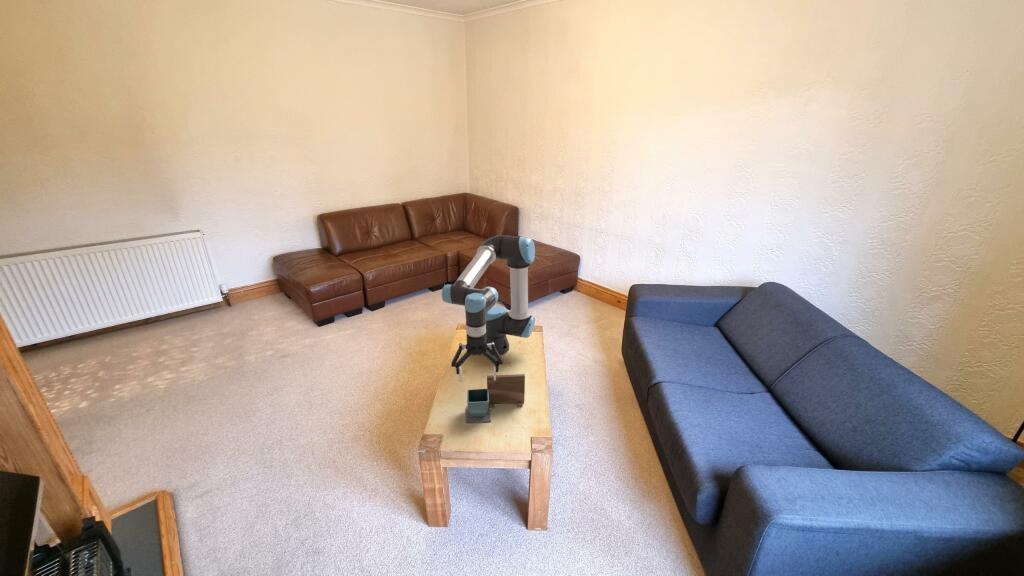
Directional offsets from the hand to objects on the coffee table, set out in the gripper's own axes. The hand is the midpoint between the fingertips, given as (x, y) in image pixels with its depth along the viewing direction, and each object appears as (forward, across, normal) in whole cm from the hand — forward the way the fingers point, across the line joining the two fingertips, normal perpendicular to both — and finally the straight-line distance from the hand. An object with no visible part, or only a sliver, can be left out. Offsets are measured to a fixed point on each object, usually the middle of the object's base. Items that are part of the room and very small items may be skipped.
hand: (477, 379), depth 159 cm
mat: (+17, 0, -1) cm, 17 cm away
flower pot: (+17, 0, 0) cm, 17 cm away
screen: (+17, +12, +6) cm, 22 cm away
